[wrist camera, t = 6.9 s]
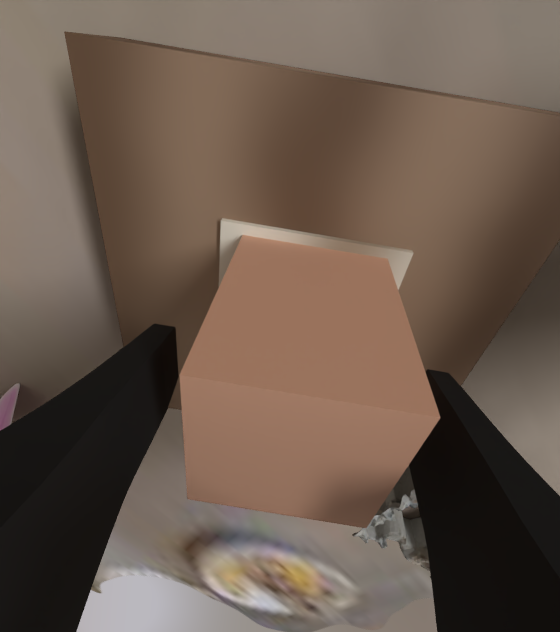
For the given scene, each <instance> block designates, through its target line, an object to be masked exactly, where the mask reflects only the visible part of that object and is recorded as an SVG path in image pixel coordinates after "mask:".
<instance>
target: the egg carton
mask: <svg viewBox="0 0 560 632" xmlns="http://www.w3.org/2000/svg"><path fill="white" fill-rule="evenodd" d="M417 505H418V503H417V499H416V494H415V490H414V486H413V481H412V477H411V473H410V468H409V467H407V468H406V470H405V471H404V473H403V474H402V476H401V477H400V479H399V480H398V482H397V483H396V485H395V486H394V488H393V489H392V491H391V492H390V494H389V495H388V497H387V498H386V500H385V501H384V503H383V504H382V506H381V507H380V509H379V510H378V512H377V513H376V515H375V516H374V518H373V519H372V521H371V522H370V523H369V525H368V526H367V528H362V529H361V530H360V531H359V532H357V533H354V534H352V535H353V536H359V537H360V538H361V539H362V540H363V541H364V542H365V543H368V539H372V540H375V541H376V542H378V543H379V544H380V546H381V547H382V548H386V547H387V542H386V539H389V540H394V541H397V542H399V544H400V549H401V551H402V552H403V554H404V556H405V558H406V559H407V560H408V561H410V562H411V563H413V564H416V565H421V566H422V567H423V568H425V569H427V570H429V571H430V565H429V558H428V550H427V544H426V539H425V534H424V529H423V525H422V520H421V517H420V518H415V519H412V520H409V519H406V518H403V515H402V510H403V509H404V508H407V507H408V506H410V507H412V508H416V507H417ZM430 578H431V576H430Z"/></svg>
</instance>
